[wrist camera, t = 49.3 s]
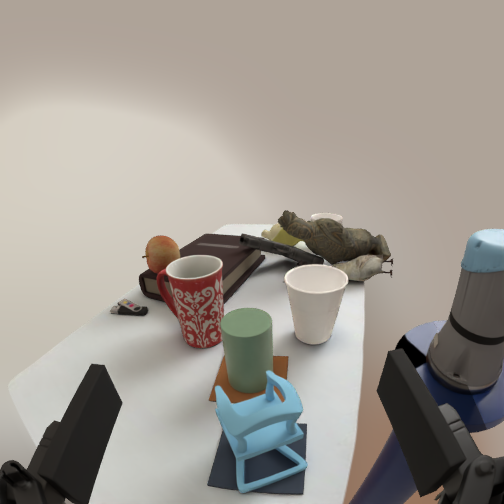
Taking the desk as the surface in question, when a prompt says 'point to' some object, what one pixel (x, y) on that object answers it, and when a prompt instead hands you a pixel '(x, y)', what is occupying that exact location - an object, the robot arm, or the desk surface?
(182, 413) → the desk surface
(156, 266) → the apple
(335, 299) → the cup
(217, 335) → the mug
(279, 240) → the toy
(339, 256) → the statue
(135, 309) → the usb flash drive
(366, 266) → the decorative bird
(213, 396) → the cork mat
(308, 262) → the handgun
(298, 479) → the slate mat
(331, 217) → the mug
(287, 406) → the chair
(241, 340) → the canister
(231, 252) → the book
